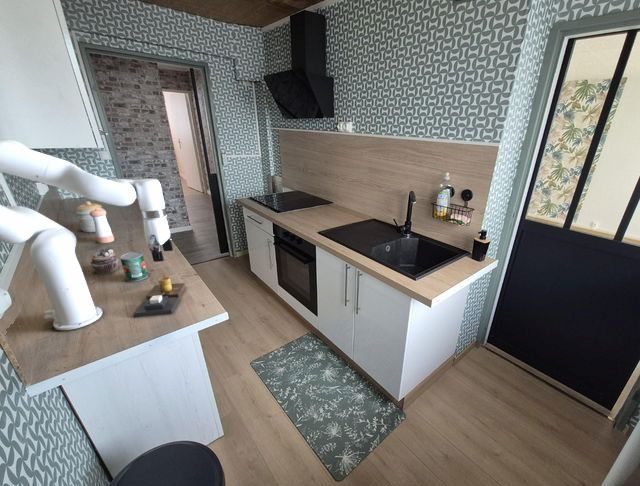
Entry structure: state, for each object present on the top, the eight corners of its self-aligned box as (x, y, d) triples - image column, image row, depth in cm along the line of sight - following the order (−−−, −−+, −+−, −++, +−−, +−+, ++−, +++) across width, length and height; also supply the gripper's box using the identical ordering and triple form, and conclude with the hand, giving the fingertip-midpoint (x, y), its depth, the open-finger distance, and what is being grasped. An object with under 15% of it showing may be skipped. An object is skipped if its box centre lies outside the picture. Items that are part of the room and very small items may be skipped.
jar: (97, 224, 189) (89, 198, 182) (115, 226, 187) (107, 199, 181) (75, 231, 177) (66, 203, 170) (94, 233, 175) (85, 205, 169)
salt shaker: (113, 242, 165) (104, 209, 158) (97, 244, 162) (86, 210, 154) (115, 237, 171) (106, 206, 164) (98, 239, 167) (88, 207, 160)
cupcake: (98, 266, 138) (92, 247, 135) (123, 264, 142) (118, 245, 138) (89, 275, 130) (82, 255, 126) (116, 273, 134) (110, 253, 130)
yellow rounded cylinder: (158, 292, 117) (156, 280, 115) (162, 287, 120) (160, 275, 118) (170, 291, 118) (167, 279, 116) (173, 286, 121) (171, 275, 119)
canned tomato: (122, 279, 129) (115, 256, 125) (140, 272, 136) (134, 250, 132) (133, 283, 126) (127, 260, 122) (152, 275, 133) (146, 253, 129)
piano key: (150, 304, 108) (149, 300, 108) (153, 299, 111) (152, 295, 110) (159, 303, 109) (158, 299, 108) (162, 299, 112) (161, 295, 111)
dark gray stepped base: (134, 317, 106) (132, 309, 104) (145, 303, 114) (143, 295, 112) (172, 313, 109) (170, 305, 107) (179, 300, 117) (178, 293, 115)
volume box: (147, 301, 115) (146, 296, 114) (156, 290, 123) (155, 284, 122) (179, 299, 117) (177, 293, 116) (185, 287, 125) (184, 282, 124)
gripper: (152, 207, 113) (161, 247, 120) (130, 220, 98) (142, 266, 104) (174, 207, 115) (181, 246, 121) (156, 220, 100) (166, 265, 106)
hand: (163, 255), depth 113 cm, fingers open, 9 cm apart
